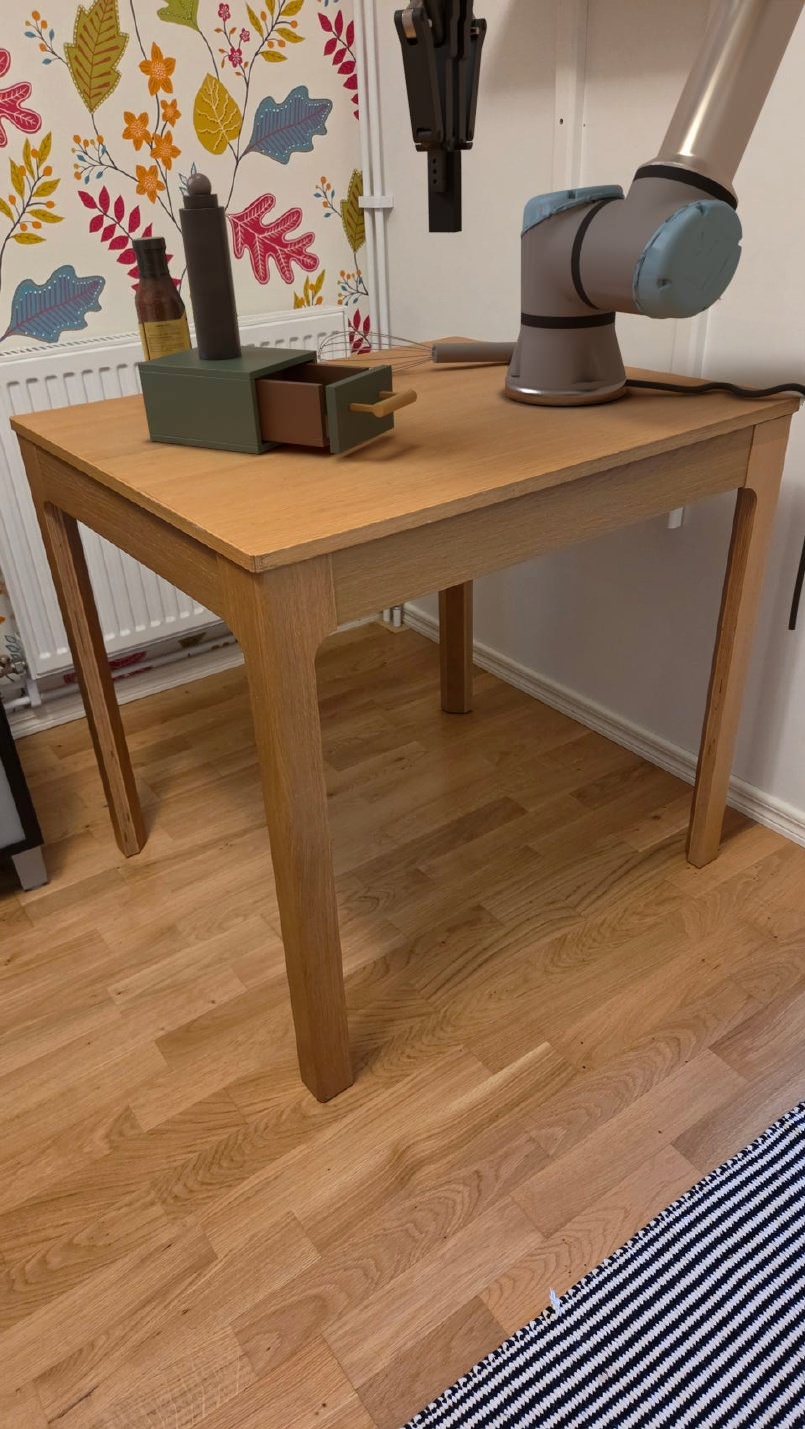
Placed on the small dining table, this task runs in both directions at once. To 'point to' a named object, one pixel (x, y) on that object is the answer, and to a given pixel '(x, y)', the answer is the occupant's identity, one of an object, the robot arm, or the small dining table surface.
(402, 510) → the small dining table surface
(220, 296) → the pepper mill
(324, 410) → the drawer
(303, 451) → the small dining table surface
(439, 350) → the kitchen whisk
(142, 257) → the sauce bottle
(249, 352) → the cabinet
